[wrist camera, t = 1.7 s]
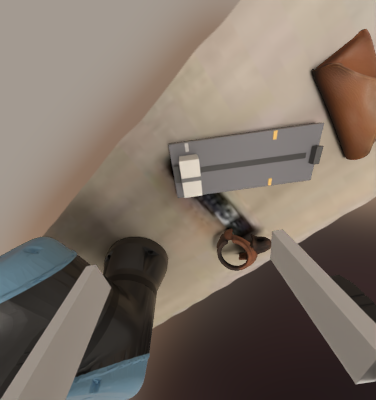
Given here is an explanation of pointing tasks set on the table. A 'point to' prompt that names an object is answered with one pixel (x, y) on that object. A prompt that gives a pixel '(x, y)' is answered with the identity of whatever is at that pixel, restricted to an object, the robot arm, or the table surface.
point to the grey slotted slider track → (252, 158)
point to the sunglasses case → (351, 94)
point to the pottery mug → (251, 252)
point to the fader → (190, 175)
